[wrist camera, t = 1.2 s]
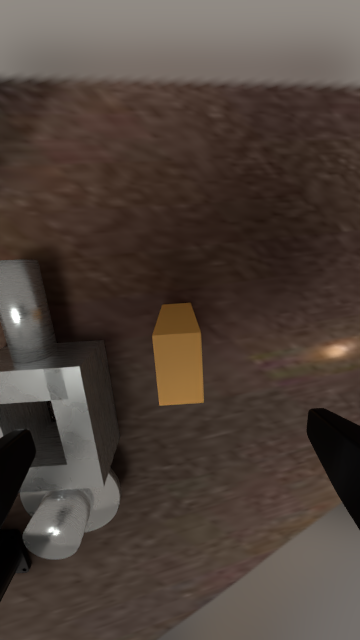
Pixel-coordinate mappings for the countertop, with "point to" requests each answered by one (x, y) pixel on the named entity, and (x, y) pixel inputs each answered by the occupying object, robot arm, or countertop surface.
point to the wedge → (178, 355)
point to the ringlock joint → (70, 412)
